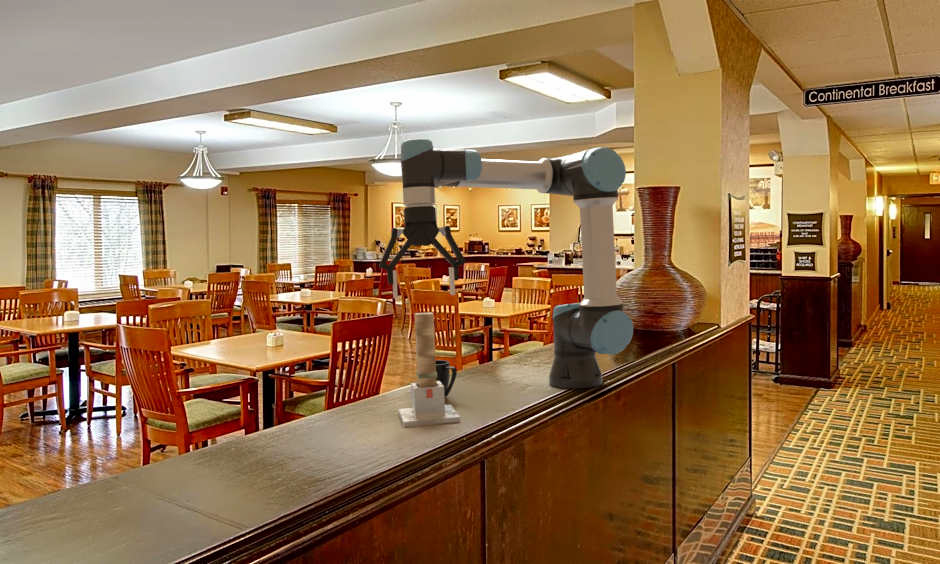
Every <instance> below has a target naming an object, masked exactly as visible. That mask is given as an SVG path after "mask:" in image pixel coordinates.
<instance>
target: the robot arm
mask: <svg viewBox="0 0 940 564" xmlns="http://www.w3.org/2000/svg"><path fill="white" fill-rule="evenodd" d="M400 164H401V165H400V167H401V168H400V169H401V178H402V199H403V206H405V208H404V209H403V216H404V217H403V218H404V219H403V220H404V221H403V222H404V226H403V228H396V227H393V228H392V229H391V233H390V234H391V235H390V239H389V241H388V244H387V246H386V248H385V250H384V253H383V255H382V258H381V260H380V261H379V264H378V267H379V268H380V269H383V270H386V273H387V283H388V285H392V295H393V299H394V300H396V299H399V298H398V297H399V296H398V295H399V294H398V280H397V278H398V277H397V270H394V268H395V267H396V266H397V265H398V263H399V262H400V260H401V259H402V258H403V256H404V255H405V254H406V253H407V251H408V250H409V249H410V248H411V246H413V247H420V246H423V247H425V246H427V247H429V246H430V245H432V246H433V247H434V248H435V249H436V250H437V252H438V253H439V254H440V255H441V256H442V257H443V258H444V259H445V260H446V261H447V262H448V263H449V265H451V267H448V274H449V275H448V276H449V277H448V278H449V279H448V280H449V295H451V296H455V295H456V286H455V285H456V284H455V283H456V282H455V281H459V279H460V278H459V275H460V274H459V267H460V266H461V265H465V264H466V259H465V257H464V255H463V253H462V251H461V249H460V248H459V246H458V244H457V242H456V240H455V239H454V237H453V235H452V231H451V227H450V225H446V226H442V227H441V226H440V227H439V226H438V224H437V209H436V207H435V206H434V205H435V204H436V190H435V189H436V188H440V187H447V188H448V187H453V188H454V187H458V188H460V187H461V188H487V189H488V188H489V189H513V190H514V189H516V190H517V189H520V190H537V192H538V193H540V194H548V195H551V194H552V195H560V196H570V197H573V199H572V200H573V203H574V204H575V205H576V206H577V207H579V218H580V219H579V221H580V238H581V241H580V243H581V257H582V258H581V259H582V262H581V263H582V277H583V279H582V280H583V281H582V282H583V296H584V297H583V299H582V300H581V301H580V302H578V303H577V302H575V303H566V304H558V305H556V306H554V308H553V311H552V324H553V350H554V351H553V352H554V353H553V355H554V357H553V361H552V364H551V368H550V372H549V375H548V383H549V384H548V385H550V386H551V387H555V388H561V389H562V388H563V389H589V388H595V387H598V386H600V385H603V373H602V371H601V369H600V365H599V363H598V359H597V357H596V353H597V354H599V355H617V354H620V353H621V352H622V351H624V350H625V349H626V348H627V346H628V345H629V344H630V342H631V340H632V338H633V334H634V324H633V321H632V319H631V318H630V316H629V315H628V314H627V313H625V312H624V301H623V300H621V298H620V297H619V296H618V291H617V290H618V289H617V270H616V269H617V268H616V251H615V250H616V249H615V233H614V232H615V231H614V229H615V228H614V227H615V226H614V225H615V224H614V211H613V210H614V209H613V207H614V204H615V203H616V202H617V201H618V199H619V190H618V189H620V187H622V185H623V183H624V182H625V179H626V173H627V170H626V165H625V162H624V160H623V158H622V156H621V155H620V154H618V152H617V151H616V150H614V149H612V148H609V147H605V146H600V147H592V148H591V147H590V148H588V149H586V150H583V151H579V152H576V153H570V154H568V155H567V154H566V155H564V156H560V157H553V158H547V157H543V158H541V159H539V160H538V161H535V160H534V161H532V160H531V161H530V160H513V159H511V160H509V159H494V158H493V159H492V158H490V159H489V158H488V159H487V158H482V157H481V154H480V152H478V151H477V150H476V149H467V148H464V149H463V148H462V149H460V148H459V149H458V148H457V149H455V148H454V149H453V148H451V149H449V148H448V149H446V148H445V149H444V148H443V149H442V148H441V149H440V148H434V145H433V141H432V140H431V139H428V138H427V139H425V138H412V139H406V140H405V141H402V143H401V145H400ZM439 233H441V235H442V236H444V237H445V239H446V241H447V244H448V245H449V246H450V249H451V251H452V252H453V255H454V256H455V258H456V259H455V258H454V257H453V256H452V255H451V254H450V253H449V252H448V251H447V250H446V249H445V247H444V246H443V245H442V244H441V242H440V241H439V240H438V239H437V237H438V235H439ZM401 235H403V236H404V237H405V238H406V241H405V242H404V243H403V245H402V247H401V248H400V250H399V251H398V252H397V253H396V255H395V256H393V258H392V260H391V261H390V262H389V264H387V263H388V260H389V258H390V256H391V254H392V251H393V250H394V247H395V244H396V241H397V238H400V237H401Z"/></svg>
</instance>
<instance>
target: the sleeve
mask: <svg viewBox="0 0 940 564" xmlns="http://www.w3.org/2000/svg"><path fill="white" fill-rule="evenodd" d="M410 395H411V399H410V400H411V407H407V408H405V407H404V408H398V416H399V418H400V421H401V423H402V425H403V427H404V428H407V427H410V428H411V427H421V426H429V425H430V426H433V425H441V424H452V423H454V424H455V423H460V422H461V416H460V415H459V414H458V412H457V411H456V409H454V407H453V405H451V404H446V403H445V402H446V401H445V398H446V397H445V398H444V386H443V384H442V383H441V382H440V381H437V386H430V387H418V381H417V382H410Z"/></svg>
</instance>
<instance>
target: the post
mask: <svg viewBox="0 0 940 564" xmlns="http://www.w3.org/2000/svg"><path fill="white" fill-rule="evenodd" d="M434 316H435V314H434V313H433V312H415V313H414V328H415V330H414V331H415V349H416V351H415V352H416V354H415V355H416V356H415V357H416V371H415V373H416V377H417V382H418V387H430V386H437V381H436V377H437V372H436V360H437V359H436V343H435V342H436V339H435V338H436V337H435V317H434Z"/></svg>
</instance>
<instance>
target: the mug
mask: <svg viewBox="0 0 940 564" xmlns="http://www.w3.org/2000/svg"><path fill="white" fill-rule="evenodd" d="M450 370H451V373H450ZM436 372H437V377H436V381H440V382H441V383H442V384H443V386H444V398H446V397H448V395H449V394H450V393H451V391H452V388H453V386H454V384H455V382H456V378H457V374H458V372H457V368H456V367H455V366H450V361H448V360H444V359H442V360H441V359H436ZM450 374H451V378H450Z"/></svg>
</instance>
